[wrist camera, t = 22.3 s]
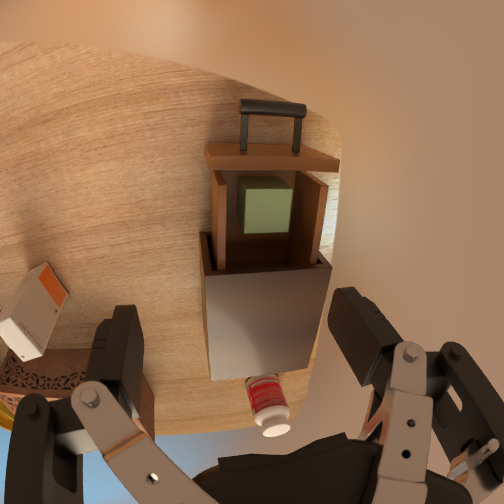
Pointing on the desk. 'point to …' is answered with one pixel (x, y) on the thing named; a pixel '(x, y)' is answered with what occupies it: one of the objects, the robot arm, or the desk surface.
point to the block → (263, 204)
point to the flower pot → (6, 417)
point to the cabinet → (260, 316)
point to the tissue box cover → (59, 381)
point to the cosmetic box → (32, 312)
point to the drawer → (267, 165)
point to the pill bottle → (268, 404)
